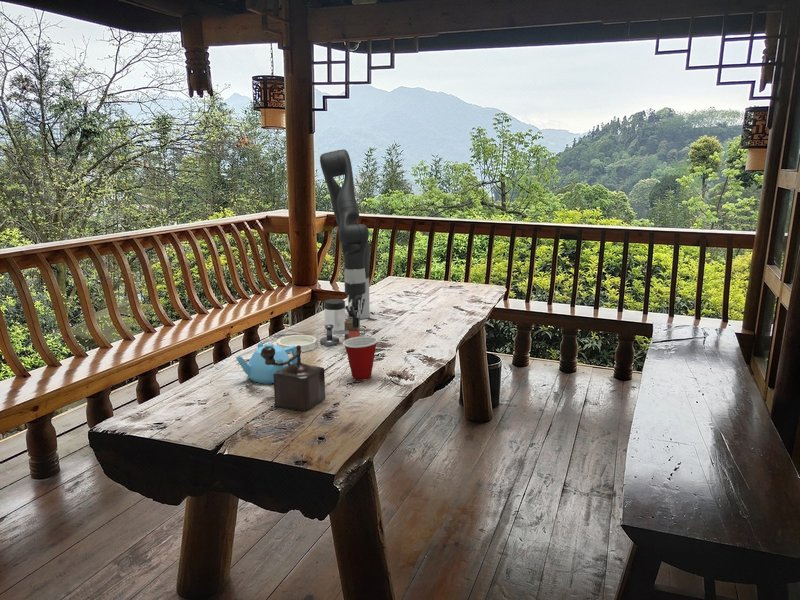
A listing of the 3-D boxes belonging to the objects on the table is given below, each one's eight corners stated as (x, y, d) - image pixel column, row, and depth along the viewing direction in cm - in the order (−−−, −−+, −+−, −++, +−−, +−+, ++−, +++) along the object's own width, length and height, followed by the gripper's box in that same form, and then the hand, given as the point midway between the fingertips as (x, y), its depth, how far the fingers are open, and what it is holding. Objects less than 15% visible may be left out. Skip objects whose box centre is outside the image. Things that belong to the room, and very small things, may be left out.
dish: (272, 344, 218) (272, 337, 217) (309, 339, 224) (309, 333, 223) (283, 355, 205) (283, 348, 205) (322, 349, 212) (322, 342, 211)
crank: (333, 341, 218) (333, 331, 218) (333, 340, 220) (333, 330, 219) (359, 340, 220) (359, 330, 219) (359, 339, 221) (359, 329, 220)
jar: (329, 335, 230) (329, 304, 227) (320, 330, 237) (319, 300, 234) (350, 331, 235) (349, 301, 232) (340, 326, 241) (339, 297, 239)
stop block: (346, 336, 228) (346, 319, 226) (359, 336, 227) (359, 319, 226) (344, 340, 223) (344, 322, 221) (358, 340, 223) (357, 322, 221)
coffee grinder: (293, 392, 172) (290, 332, 168) (326, 398, 168) (324, 337, 164) (260, 413, 158) (256, 348, 154) (295, 419, 154) (292, 353, 150)
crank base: (317, 342, 221) (316, 324, 219) (335, 339, 224) (334, 322, 222) (323, 347, 215) (323, 329, 213) (342, 344, 218) (341, 326, 216)
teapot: (282, 388, 175) (280, 353, 173) (236, 384, 179) (233, 349, 177) (303, 371, 190) (302, 339, 187) (260, 367, 194) (258, 335, 191)
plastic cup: (348, 370, 191) (347, 334, 188) (381, 372, 189) (381, 335, 186) (339, 382, 180) (338, 344, 177) (374, 384, 178) (373, 345, 176)
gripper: (352, 276, 220) (353, 321, 224) (337, 283, 208) (339, 331, 212) (371, 277, 218) (372, 323, 222) (357, 284, 206) (358, 333, 210)
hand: (356, 327), depth 217 cm, fingers closed
